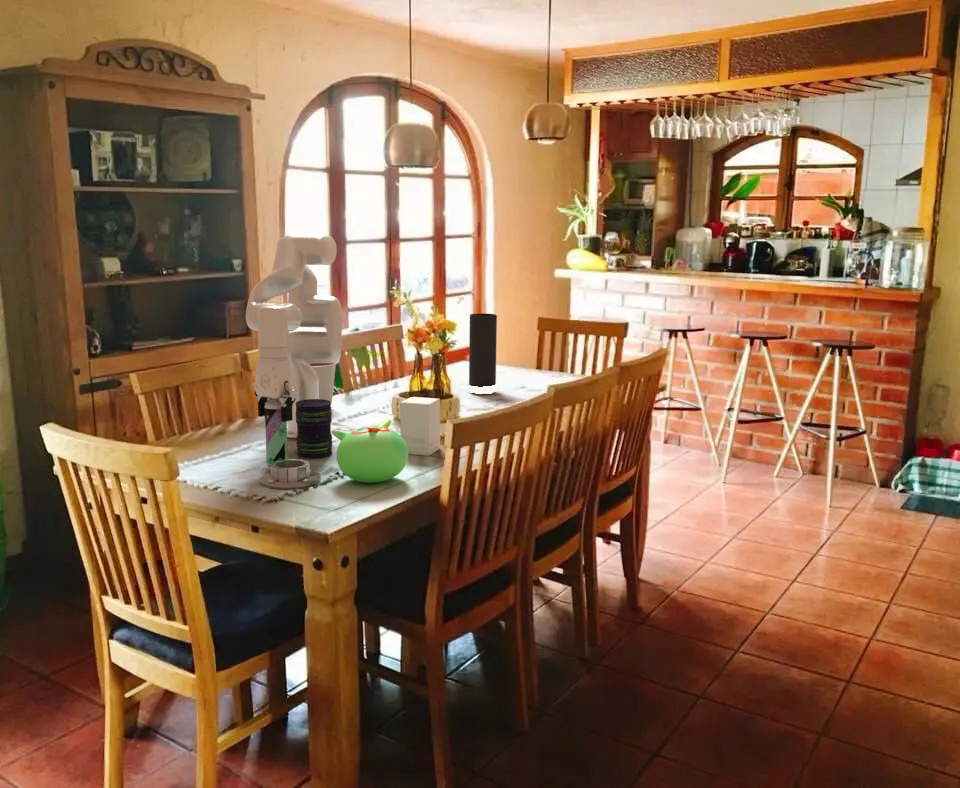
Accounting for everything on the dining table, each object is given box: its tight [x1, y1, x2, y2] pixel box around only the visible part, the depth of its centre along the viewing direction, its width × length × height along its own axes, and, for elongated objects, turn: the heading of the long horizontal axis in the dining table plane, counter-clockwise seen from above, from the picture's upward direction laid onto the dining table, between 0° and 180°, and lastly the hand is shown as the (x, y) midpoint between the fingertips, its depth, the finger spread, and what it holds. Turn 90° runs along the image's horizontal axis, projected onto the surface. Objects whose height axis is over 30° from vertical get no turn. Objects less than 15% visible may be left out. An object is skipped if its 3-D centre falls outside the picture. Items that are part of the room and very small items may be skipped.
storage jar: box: [295, 399, 333, 460], centre depth 244 cm, size 10×10×15 cm
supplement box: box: [399, 396, 441, 457], centre depth 249 cm, size 9×9×15 cm
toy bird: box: [331, 419, 409, 484], centre depth 220 cm, size 18×17×15 cm
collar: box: [259, 458, 322, 490], centre depth 220 cm, size 15×15×4 cm
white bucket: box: [310, 362, 338, 404], centre depth 302 cm, size 18×18×21 cm
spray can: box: [264, 398, 289, 471], centre depth 230 cm, size 6×6×20 cm
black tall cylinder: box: [468, 313, 498, 387], centre depth 334 cm, size 10×10×30 cm
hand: (275, 418), depth 229 cm, fingers open, 9 cm apart
